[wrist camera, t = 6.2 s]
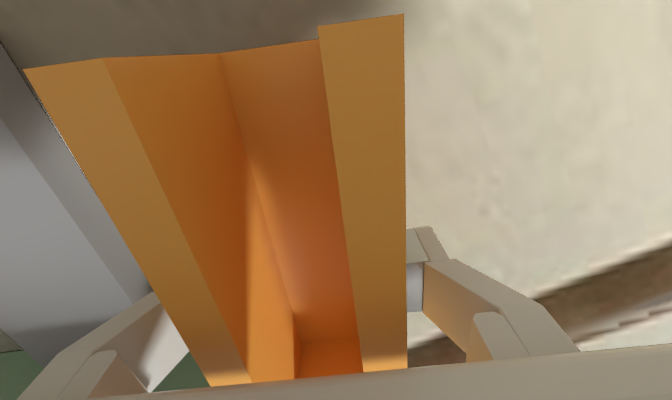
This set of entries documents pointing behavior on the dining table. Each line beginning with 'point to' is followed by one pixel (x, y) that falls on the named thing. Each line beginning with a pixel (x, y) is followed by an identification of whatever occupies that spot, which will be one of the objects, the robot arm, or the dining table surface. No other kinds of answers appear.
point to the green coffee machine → (56, 248)
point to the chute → (257, 194)
